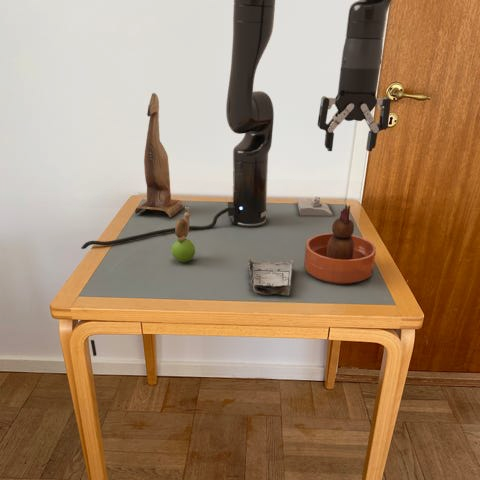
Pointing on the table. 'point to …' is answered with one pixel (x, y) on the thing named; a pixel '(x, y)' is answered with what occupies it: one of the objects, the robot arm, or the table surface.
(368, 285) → the table surface
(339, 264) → the bowl
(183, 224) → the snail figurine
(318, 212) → the grey stone carving
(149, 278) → the table surface
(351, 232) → the wooden figurine
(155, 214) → the table surface
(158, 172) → the bird sculpture
